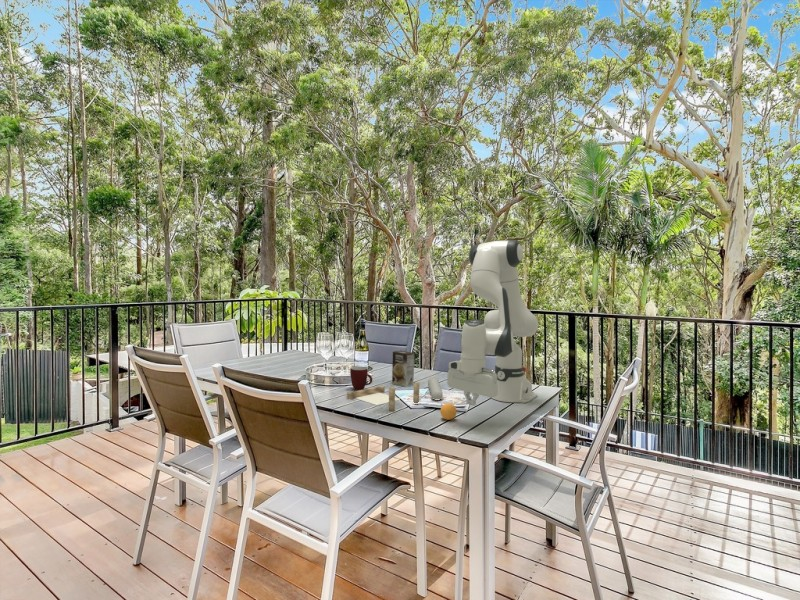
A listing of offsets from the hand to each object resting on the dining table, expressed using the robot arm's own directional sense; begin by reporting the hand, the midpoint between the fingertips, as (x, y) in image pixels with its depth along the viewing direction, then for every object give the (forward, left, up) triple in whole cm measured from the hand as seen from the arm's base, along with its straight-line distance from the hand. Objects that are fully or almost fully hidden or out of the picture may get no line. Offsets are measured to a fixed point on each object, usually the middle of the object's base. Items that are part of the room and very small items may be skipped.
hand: (471, 404), depth 164 cm
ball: (-1, -11, -5) cm, 12 cm away
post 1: (+8, -33, -8) cm, 35 cm away
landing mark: (+1, -49, -8) cm, 49 cm away
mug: (-4, -66, -8) cm, 66 cm away
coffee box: (-26, -61, -8) cm, 66 cm away
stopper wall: (+1, -57, -8) cm, 57 cm away
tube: (-25, -38, -9) cm, 46 cm away
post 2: (-6, -33, -8) cm, 34 cm away
